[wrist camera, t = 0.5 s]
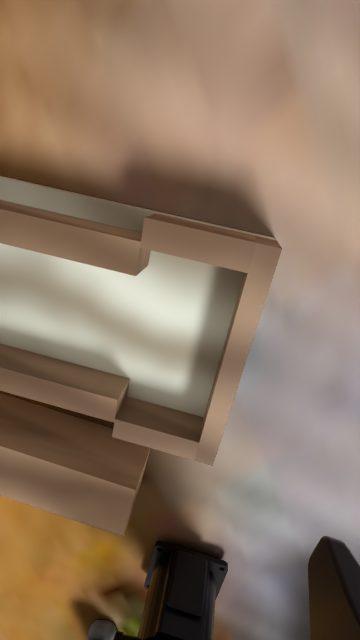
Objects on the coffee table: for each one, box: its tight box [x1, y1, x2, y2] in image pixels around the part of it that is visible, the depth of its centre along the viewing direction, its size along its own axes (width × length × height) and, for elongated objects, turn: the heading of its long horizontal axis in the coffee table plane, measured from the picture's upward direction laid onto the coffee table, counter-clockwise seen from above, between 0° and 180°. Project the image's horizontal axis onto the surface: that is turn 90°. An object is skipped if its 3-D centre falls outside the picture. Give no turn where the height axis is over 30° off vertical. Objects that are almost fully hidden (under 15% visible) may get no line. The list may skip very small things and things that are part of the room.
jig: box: [0, 176, 282, 466], centre depth 21 cm, size 14×24×4 cm, turn 79°
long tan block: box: [0, 393, 151, 537], centre depth 25 cm, size 5×14×5 cm, turn 76°
